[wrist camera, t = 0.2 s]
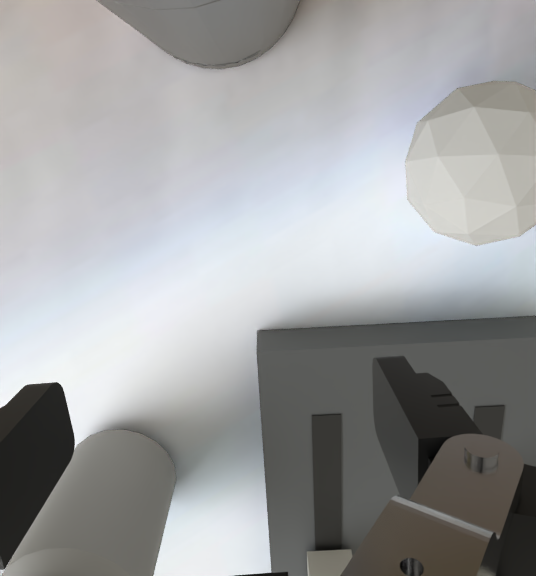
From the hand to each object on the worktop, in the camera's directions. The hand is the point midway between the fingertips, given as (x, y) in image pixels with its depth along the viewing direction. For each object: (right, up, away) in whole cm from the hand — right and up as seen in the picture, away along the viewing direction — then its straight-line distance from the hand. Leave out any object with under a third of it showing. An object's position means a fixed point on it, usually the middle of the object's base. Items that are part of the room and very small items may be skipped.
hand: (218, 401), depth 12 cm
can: (-9, -10, +22) cm, 26 cm away
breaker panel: (+10, -11, +22) cm, 27 cm away
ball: (+12, +10, +15) cm, 22 cm away
